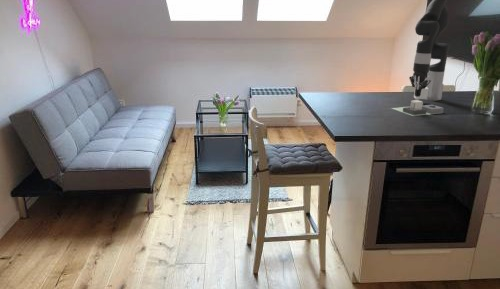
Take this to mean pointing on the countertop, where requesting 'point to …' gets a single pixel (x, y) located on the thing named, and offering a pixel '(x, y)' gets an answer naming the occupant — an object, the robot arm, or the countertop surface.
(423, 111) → the header socket
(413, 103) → the plug
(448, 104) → the countertop surface
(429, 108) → the circuit board
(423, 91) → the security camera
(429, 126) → the countertop surface
